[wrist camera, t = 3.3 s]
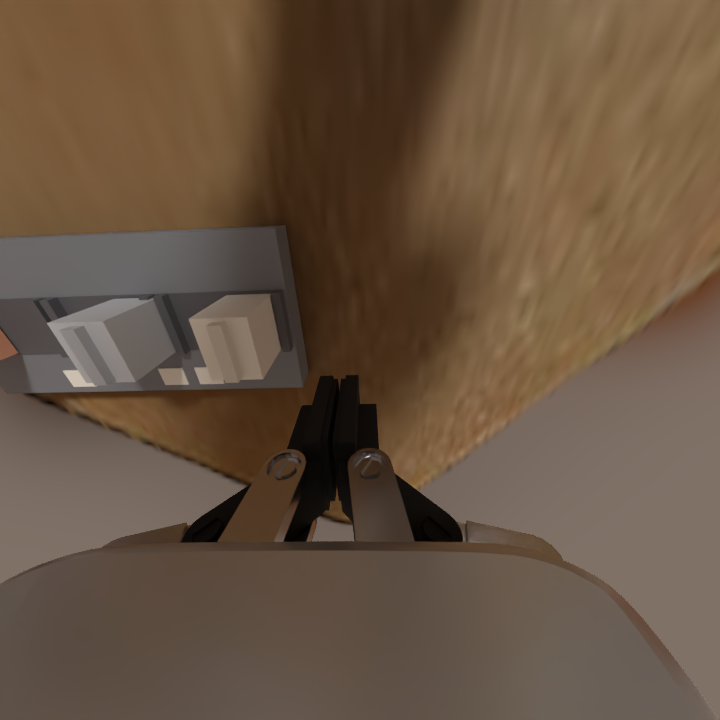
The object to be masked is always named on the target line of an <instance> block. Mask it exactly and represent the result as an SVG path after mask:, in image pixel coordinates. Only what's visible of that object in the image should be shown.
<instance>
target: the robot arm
mask: <svg viewBox="0 0 720 720" xmlns="http://www.w3.org/2000/svg"><path fill="white" fill-rule="evenodd" d="M336 488H338V496H339V501H341V503H342V511H343V512H344V513H345V515H346V516H347V517H348V518H349V519H350V520H351V521H352V522H353V532H354V541H353V542H352V541H350V542H348V541H345V542H312V538H313V535H314V532H315V529H316V524H317V518H318V517H319V516H320V515H321V514H322V513H323V512H324V511H325V510H329V506H330V501H335V497H336ZM0 720H720V719H719V718H718V717H717V715H716V714H715V713H714V711H713V710H712V708H711V707H710V706H709V704H708V703H707V701H706V700H705V699H704V697H703V696H702V694H701V693H700V692H699V690H698V689H697V687H696V686H695V685H694V683H693V682H692V681H691V679H690V678H689V677H688V675H687V674H686V673H685V672H684V670H683V669H682V667H681V666H680V665H679V664H678V662H677V661H676V660H675V658H674V657H673V655H672V654H671V653H670V652H669V650H668V649H667V648H666V647H665V645H664V644H663V643H662V641H661V640H660V639H659V638H658V636H657V635H656V634H655V633H654V631H653V630H652V629H651V628H650V627H649V625H648V624H647V623H646V622H645V620H644V619H643V618H642V617H641V616H640V615H639V614H638V613H637V612H636V610H635V609H634V608H633V607H632V606H631V605H630V604H629V603H628V602H627V601H626V600H625V599H624V598H623V597H622V596H621V595H620V594H619V593H618V592H616V591H615V590H614V589H613V588H612V587H611V586H610V585H608V584H607V583H605V582H604V581H603V580H601V579H600V578H598V577H597V576H595V575H593V574H591V573H589V572H587V571H585V570H584V569H582V568H580V567H578V566H576V565H574V564H571V563H569V562H566V561H564V560H563V559H562V557H561V555H560V554H559V553H558V552H557V550H556V549H555V548H554V547H553V546H552V545H551V544H549V543H548V542H546V541H545V540H543V539H542V538H539V537H536V536H534V535H530V534H525V533H521V532H516V531H512V530H507V529H503V528H498V527H494V526H489V525H484V524H480V523H475V522H471V521H466V524H464V523H459V522H456V521H455V520H454V519H453V518H452V517H451V516H450V515H449V514H448V513H446V512H445V511H444V510H442V509H441V508H440V507H438V506H437V505H436V504H434V503H433V502H432V501H430V500H429V499H428V498H426V497H425V496H424V495H422V494H421V493H420V492H419V491H417V490H416V489H415V488H413V487H412V486H411V485H409V484H408V483H407V482H405V481H404V480H403V479H401V478H400V477H399V476H397V475H396V474H395V473H394V470H393V466H392V463H391V460H390V458H389V456H388V455H387V454H386V453H385V452H383V451H381V450H379V443H378V427H377V410H376V404H360V397H359V377H358V375H346V379H341V384H340V391H339V384H338V379H334V377H333V376H320V379H319V383H318V386H317V390H316V393H315V397H314V401H313V404H312V405H303V406H302V407H301V409H300V412H299V415H298V418H297V421H296V424H295V427H294V430H293V433H292V436H291V439H290V442H289V445H288V448H287V449H285V450H281V451H278V452H276V453H274V454H273V455H271V456H270V457H269V458H268V459H267V460H266V461H265V463H264V464H263V466H262V467H261V469H260V471H259V473H258V474H257V476H256V478H255V479H254V481H253V483H252V484H250V485H249V486H247V487H246V488H244V489H243V490H241V491H240V492H238V493H237V494H235V495H233V496H232V497H230V498H229V499H227V500H226V501H224V502H223V503H221V504H220V505H218V506H217V507H215V508H214V509H212V510H211V511H209V512H208V513H206V514H204V515H203V516H201V517H200V518H199V519H198V520H196V521H195V522H194V523H193V524H192V525H189V526H188V525H187V523H182V524H178V525H173V526H169V527H165V528H161V529H156V530H152V531H147V532H143V533H138V534H134V535H130V536H125V537H121V538H119V539H116V540H114V541H111V542H110V543H108V544H107V545H105V546H103V547H102V548H96V549H90V550H86V551H82V552H78V553H74V554H70V555H66V556H63V557H60V558H57V559H54V560H51V561H49V562H46V563H43V564H40V565H37V566H35V567H33V568H30V569H28V570H26V571H23V572H21V573H19V574H17V575H15V576H13V577H11V578H9V579H7V580H6V581H4V582H3V583H1V584H0Z"/></svg>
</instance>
